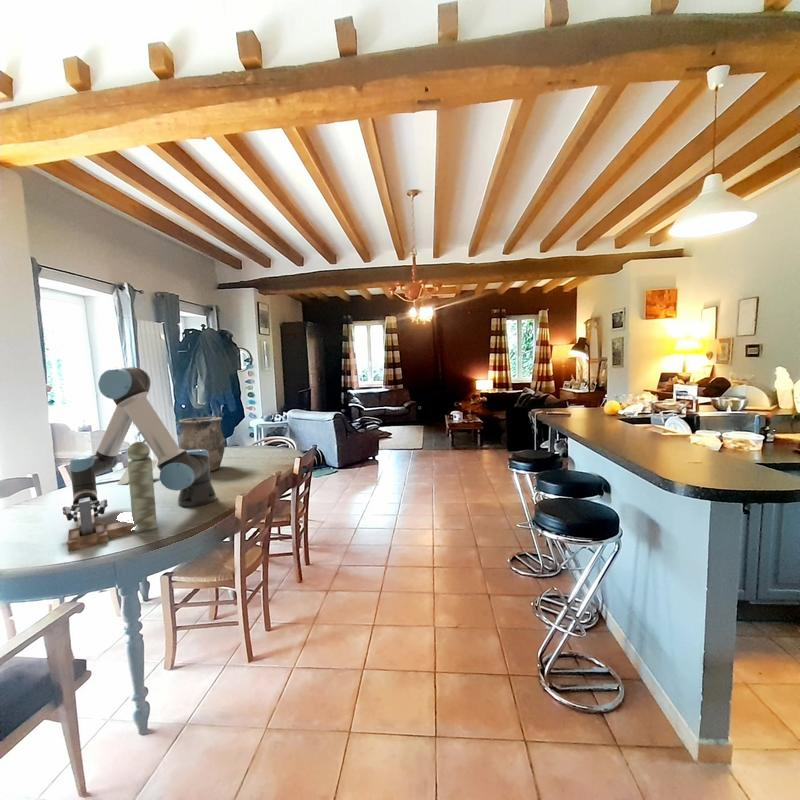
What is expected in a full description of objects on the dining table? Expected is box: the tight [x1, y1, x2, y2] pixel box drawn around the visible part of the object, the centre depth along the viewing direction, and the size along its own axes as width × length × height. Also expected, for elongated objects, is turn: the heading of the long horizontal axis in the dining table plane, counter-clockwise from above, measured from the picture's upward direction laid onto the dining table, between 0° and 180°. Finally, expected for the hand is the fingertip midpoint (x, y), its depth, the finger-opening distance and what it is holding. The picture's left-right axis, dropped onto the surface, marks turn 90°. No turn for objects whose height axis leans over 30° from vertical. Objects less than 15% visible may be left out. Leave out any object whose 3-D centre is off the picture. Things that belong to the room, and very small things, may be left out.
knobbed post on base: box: [67, 441, 158, 553], centre depth 147 cm, size 26×14×32 cm, turn 128°
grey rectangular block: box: [79, 497, 93, 536], centre depth 144 cm, size 3×5×13 cm, turn 38°
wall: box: [116, 459, 158, 486], centre depth 218 cm, size 16×9×15 cm
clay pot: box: [178, 416, 226, 473], centre depth 234 cm, size 22×23×30 cm
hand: (86, 519), depth 139 cm, fingers closed on grey rectangular block, 3 cm apart
